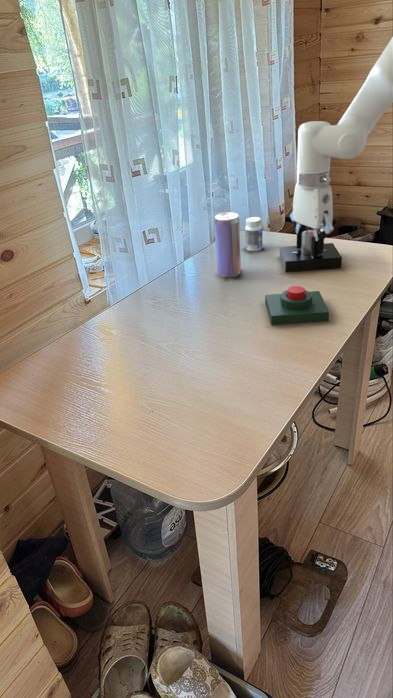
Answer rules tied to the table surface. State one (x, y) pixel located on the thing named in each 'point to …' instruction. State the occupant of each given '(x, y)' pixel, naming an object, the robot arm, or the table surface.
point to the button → (296, 293)
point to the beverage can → (228, 244)
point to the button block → (296, 308)
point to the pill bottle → (253, 234)
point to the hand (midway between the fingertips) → (309, 250)
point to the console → (310, 259)
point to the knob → (307, 242)
